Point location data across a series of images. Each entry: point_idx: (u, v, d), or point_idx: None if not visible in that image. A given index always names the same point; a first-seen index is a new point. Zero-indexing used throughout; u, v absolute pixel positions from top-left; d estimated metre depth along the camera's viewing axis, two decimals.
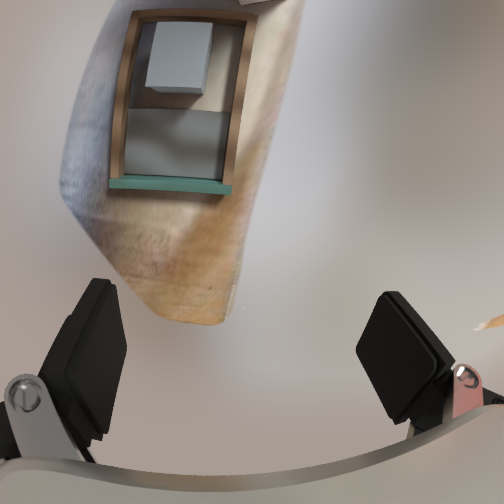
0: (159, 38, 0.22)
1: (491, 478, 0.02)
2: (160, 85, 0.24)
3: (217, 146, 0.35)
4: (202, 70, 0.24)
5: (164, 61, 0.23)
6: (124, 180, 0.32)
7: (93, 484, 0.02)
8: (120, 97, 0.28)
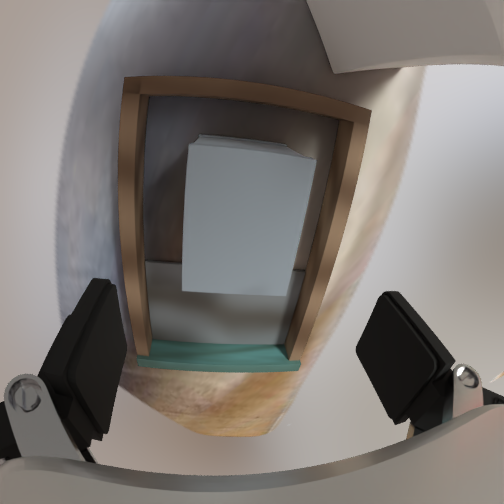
0: (198, 191, 0.13)
1: (491, 478, 0.02)
2: (211, 291, 0.16)
3: (283, 312, 0.26)
4: (290, 266, 0.16)
5: (215, 246, 0.15)
6: (158, 361, 0.24)
7: (93, 484, 0.02)
8: (131, 259, 0.19)
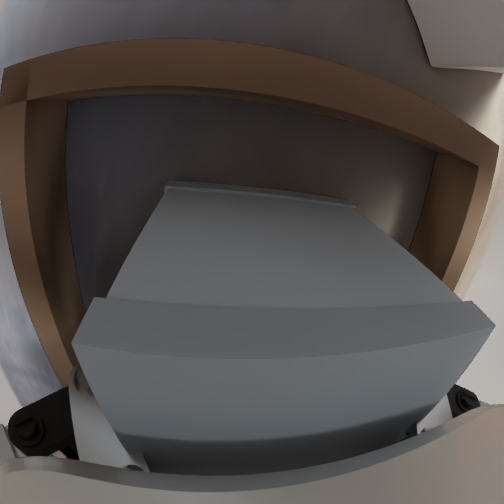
0: (159, 444, 0.03)
1: (491, 478, 0.02)
2: None
3: None
4: None
5: None
6: None
7: (93, 484, 0.02)
8: None
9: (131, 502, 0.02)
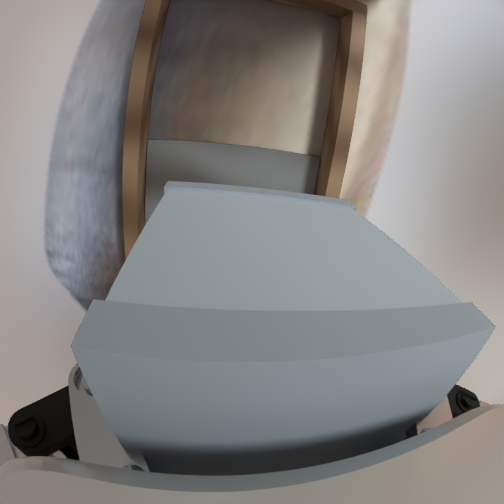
0: (159, 446, 0.03)
1: (491, 478, 0.02)
2: None
3: None
4: None
5: None
6: None
7: (93, 484, 0.02)
8: (135, 122, 0.16)
9: (131, 502, 0.02)
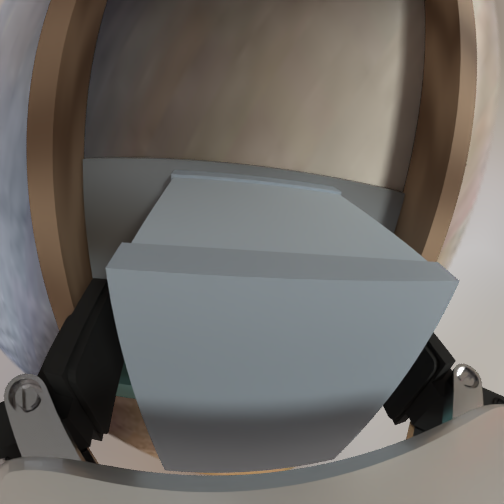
0: (164, 379, 0.04)
1: (491, 478, 0.02)
2: (214, 471, 0.07)
3: None
4: (351, 438, 0.07)
5: (216, 440, 0.06)
6: None
7: (93, 484, 0.02)
8: (43, 127, 0.06)
9: (131, 502, 0.02)
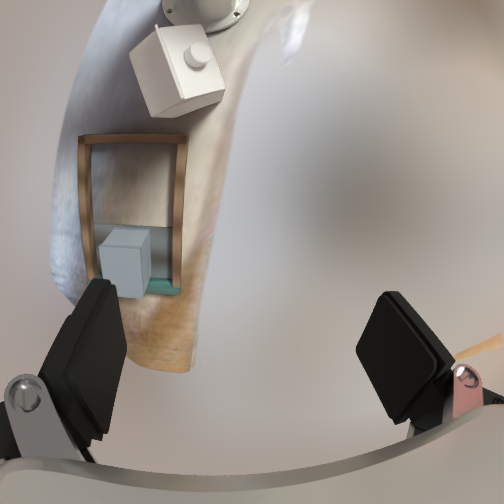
0: (104, 261, 0.35)
1: (491, 478, 0.02)
2: None
3: (166, 255, 0.44)
4: (141, 287, 0.38)
5: (113, 279, 0.36)
6: None
7: (93, 484, 0.02)
8: (84, 220, 0.37)
9: (131, 502, 0.02)
